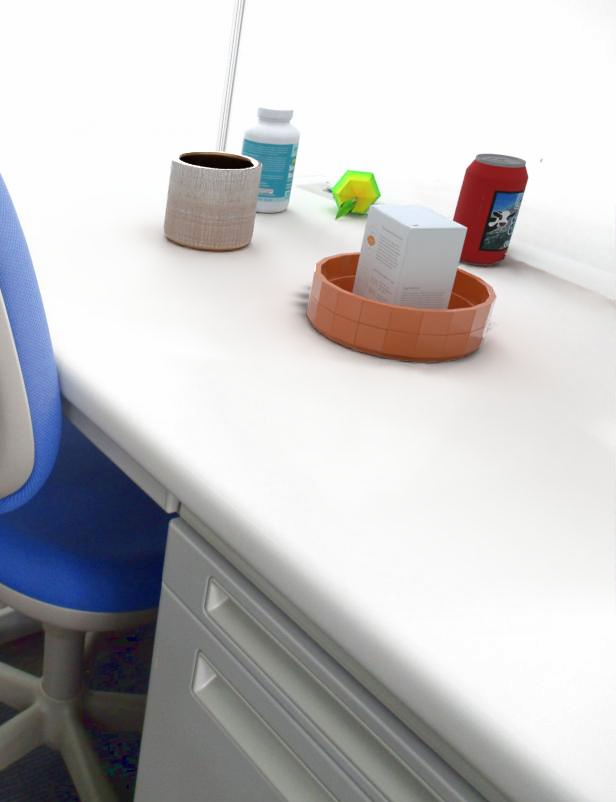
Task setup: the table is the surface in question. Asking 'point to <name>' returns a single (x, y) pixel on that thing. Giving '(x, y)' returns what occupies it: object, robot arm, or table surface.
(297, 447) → the table surface
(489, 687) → the table surface
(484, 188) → the beverage can
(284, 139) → the pill bottle
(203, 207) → the planter
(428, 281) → the small box
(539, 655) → the table surface
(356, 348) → the pan
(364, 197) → the apple
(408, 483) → the table surface
